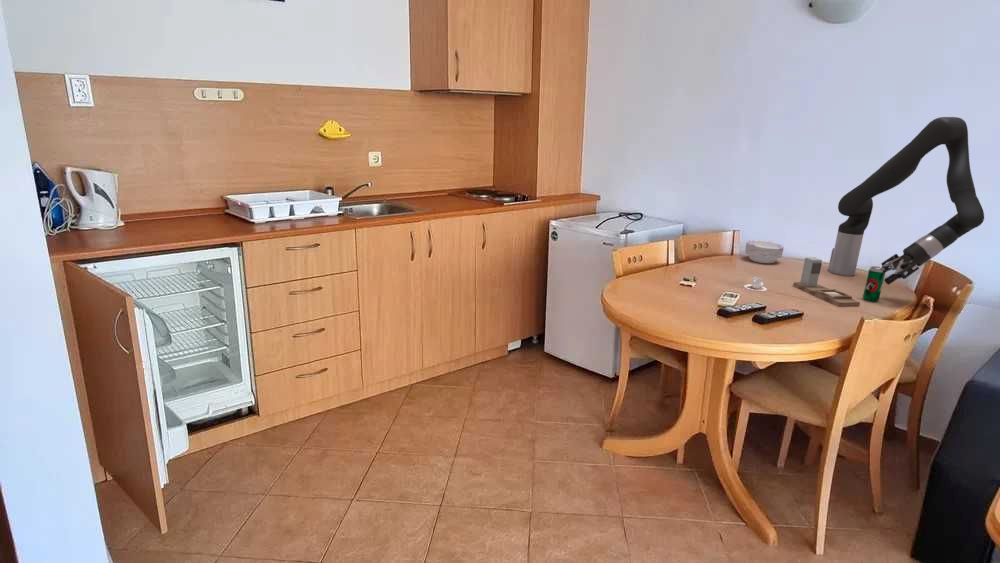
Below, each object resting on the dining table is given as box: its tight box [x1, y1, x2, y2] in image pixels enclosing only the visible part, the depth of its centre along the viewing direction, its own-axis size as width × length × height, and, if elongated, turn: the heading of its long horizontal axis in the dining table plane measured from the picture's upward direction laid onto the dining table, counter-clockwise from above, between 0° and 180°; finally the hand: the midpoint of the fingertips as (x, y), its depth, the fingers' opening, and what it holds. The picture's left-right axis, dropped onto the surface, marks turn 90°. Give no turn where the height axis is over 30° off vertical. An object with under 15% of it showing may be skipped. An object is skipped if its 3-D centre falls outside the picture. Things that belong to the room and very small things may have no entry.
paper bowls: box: [744, 239, 784, 264], centre depth 263 cm, size 15×15×8 cm
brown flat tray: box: [792, 281, 861, 308], centre depth 216 cm, size 24×8×2 cm, turn 11°
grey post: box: [799, 256, 823, 286], centre depth 223 cm, size 5×4×10 cm
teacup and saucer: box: [743, 277, 768, 292], centre depth 222 cm, size 9×8×4 cm
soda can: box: [862, 265, 886, 303], centre depth 212 cm, size 5×5×12 cm
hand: (880, 279), depth 211 cm, fingers open, 8 cm apart
